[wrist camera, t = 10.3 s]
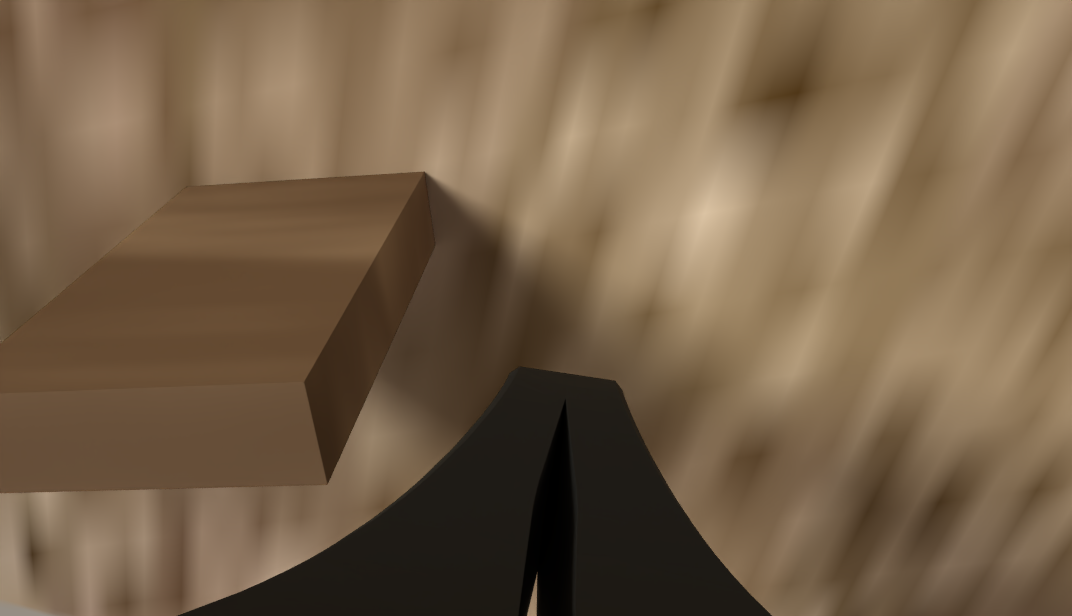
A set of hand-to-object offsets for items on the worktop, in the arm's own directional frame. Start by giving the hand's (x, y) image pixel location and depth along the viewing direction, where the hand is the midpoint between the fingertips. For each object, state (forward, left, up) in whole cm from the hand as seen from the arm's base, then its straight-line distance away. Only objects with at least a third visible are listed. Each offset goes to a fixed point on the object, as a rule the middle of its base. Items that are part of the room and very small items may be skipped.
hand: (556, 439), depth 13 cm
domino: (-5, 0, -6) cm, 8 cm away
